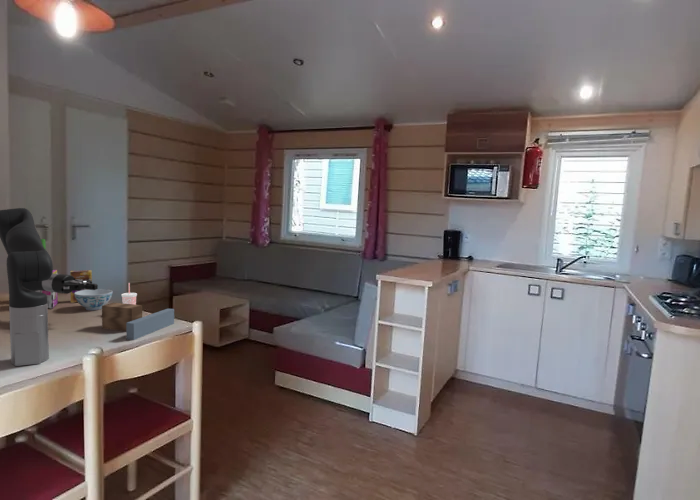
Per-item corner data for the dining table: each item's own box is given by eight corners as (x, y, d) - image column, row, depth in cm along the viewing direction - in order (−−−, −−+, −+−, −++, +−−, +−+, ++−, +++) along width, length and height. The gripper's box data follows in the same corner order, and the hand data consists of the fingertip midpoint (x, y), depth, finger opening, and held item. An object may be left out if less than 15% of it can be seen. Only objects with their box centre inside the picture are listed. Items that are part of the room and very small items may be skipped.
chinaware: (79, 305, 201) (78, 289, 200) (115, 304, 206) (115, 288, 205) (70, 313, 187) (70, 295, 186) (109, 311, 192) (109, 294, 191)
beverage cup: (118, 314, 187) (117, 283, 186) (128, 311, 193) (128, 281, 192) (130, 316, 185) (129, 284, 184) (140, 313, 191) (140, 282, 190)
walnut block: (102, 328, 166) (101, 305, 165) (113, 324, 172) (113, 302, 171) (131, 331, 164) (131, 308, 163) (142, 327, 170) (142, 305, 169)
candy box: (70, 303, 205) (69, 271, 204) (70, 301, 209) (69, 270, 207) (92, 301, 210) (91, 270, 209) (91, 299, 214) (91, 269, 212)
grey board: (126, 339, 154) (126, 322, 153) (167, 322, 177) (167, 308, 177) (133, 340, 153) (133, 323, 153) (174, 323, 177) (174, 309, 176)
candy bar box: (53, 308, 193) (52, 272, 192) (40, 309, 191) (39, 273, 190) (58, 303, 204) (57, 269, 202) (45, 304, 201) (44, 269, 200)
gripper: (44, 276, 166) (82, 280, 162) (72, 271, 178) (108, 275, 175) (44, 295, 166) (82, 299, 163) (72, 289, 179) (108, 293, 176)
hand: (96, 287), depth 169 cm, fingers closed
